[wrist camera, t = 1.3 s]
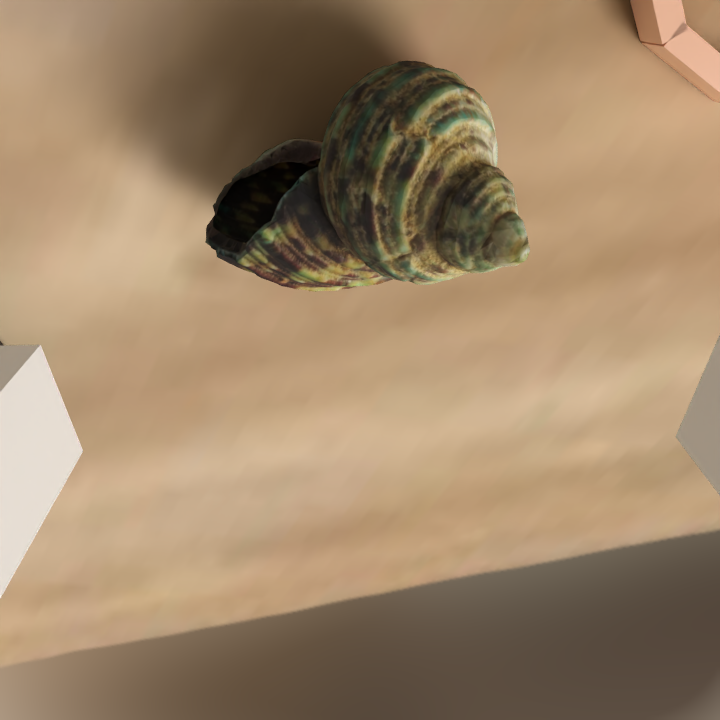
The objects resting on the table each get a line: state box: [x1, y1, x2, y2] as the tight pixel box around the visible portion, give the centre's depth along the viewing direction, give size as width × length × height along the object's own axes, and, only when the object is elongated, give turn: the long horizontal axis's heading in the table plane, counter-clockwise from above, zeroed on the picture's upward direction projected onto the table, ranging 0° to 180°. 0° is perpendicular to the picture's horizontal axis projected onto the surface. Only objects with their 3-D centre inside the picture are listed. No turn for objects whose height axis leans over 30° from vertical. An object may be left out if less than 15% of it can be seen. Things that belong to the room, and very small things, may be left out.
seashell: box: [206, 61, 530, 292], centre depth 22 cm, size 11×11×10 cm
